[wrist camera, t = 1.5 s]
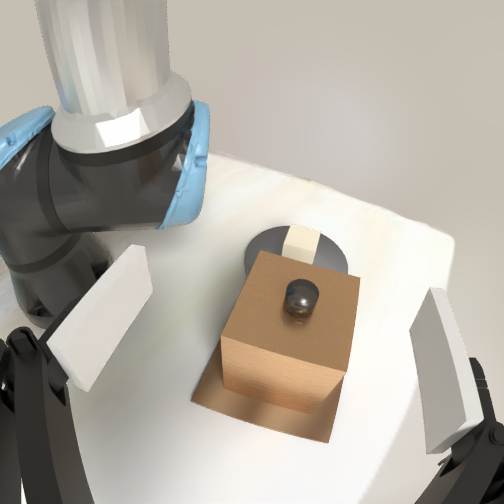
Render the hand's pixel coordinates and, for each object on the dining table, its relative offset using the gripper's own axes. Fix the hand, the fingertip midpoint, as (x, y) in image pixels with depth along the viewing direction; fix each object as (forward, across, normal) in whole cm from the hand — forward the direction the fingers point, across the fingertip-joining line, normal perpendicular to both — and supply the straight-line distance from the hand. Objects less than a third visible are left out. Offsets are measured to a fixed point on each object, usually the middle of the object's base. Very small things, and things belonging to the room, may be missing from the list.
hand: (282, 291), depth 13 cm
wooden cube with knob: (+9, 0, -18) cm, 20 cm away
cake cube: (+24, 0, -14) cm, 28 cm away
